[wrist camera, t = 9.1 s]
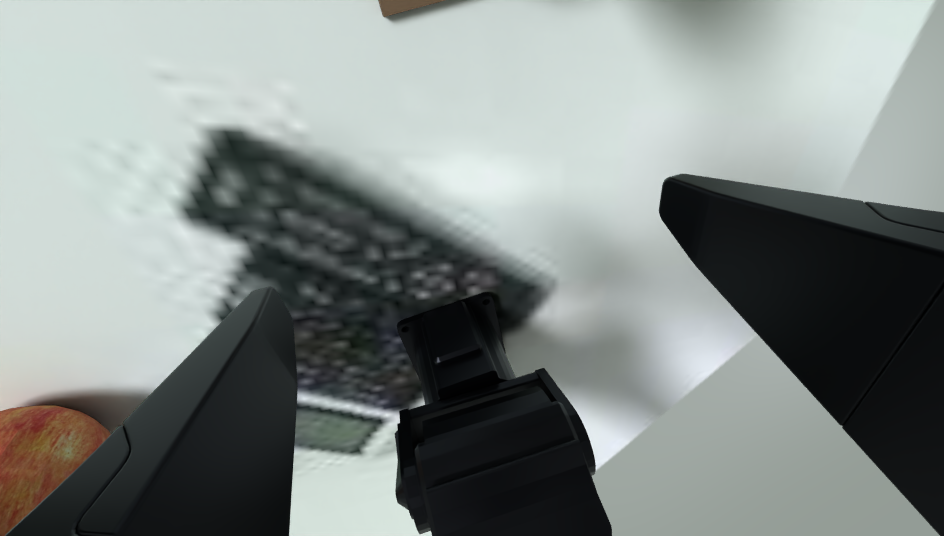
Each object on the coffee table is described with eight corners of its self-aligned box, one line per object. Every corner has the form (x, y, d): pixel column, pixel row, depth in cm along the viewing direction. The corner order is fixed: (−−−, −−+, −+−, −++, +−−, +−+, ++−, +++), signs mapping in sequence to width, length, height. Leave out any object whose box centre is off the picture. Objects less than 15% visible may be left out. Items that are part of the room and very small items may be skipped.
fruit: (-29, 474, 25) (-191, 702, 17) (-72, 364, 21) (-316, 605, 13) (144, 467, 29) (74, 655, 21) (140, 372, 24) (49, 565, 16)
